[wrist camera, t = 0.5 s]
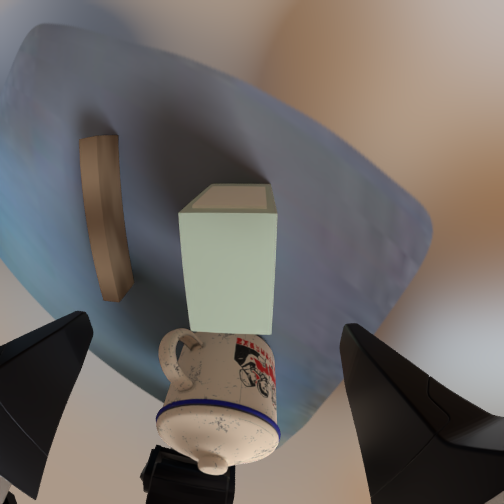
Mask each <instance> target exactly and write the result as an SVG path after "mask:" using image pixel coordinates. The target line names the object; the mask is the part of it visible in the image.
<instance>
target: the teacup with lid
mask: <svg viewBox="0 0 504 504" xmlns="http://www.w3.org/2000/svg"><path fill="white" fill-rule="evenodd" d="M179 340H180V341H181V342H183V343H184V346H183V349H182V351H181V354H180V357H179V360H178V361H177V358H176V345H177V342H178V341H179ZM159 361H160V364H161V367H162V370H163V372H164V374H165V375H166V377H167V378H168V380H169V381H170V382H171V384H170V387H169V390H168V393H167V396H166V399H165V402H164V405H163V408H161V409H160V410H159V412H158V414H157V416H156V427H157V430H158V433H159V435H160V437H161V438H162V439H163V441H164V442H165V443H166V444H168V445H169V446H170V447H171V448H173V449H174V450H176V451H178V452H180V453H181V454H184V455H186V456H188V457H190V458H192V459H193V460H195V461H197V462H198V468H199V469H200V470H201V471H202V472H204V473H206V474H211V475H222V474H224V473H225V472H226V471H227V469H228V466H233V465H236V464H244V463H250V462H254V461H257V460H260V459H263V458H265V457H266V456H268V455H270V454H271V453H272V452H273V451H274V450H275V448H276V447H277V445H278V442H279V440H280V435H281V434H280V429H279V427H278V425H277V414H276V384H275V361H274V356H273V353H272V351H271V349H270V347H269V346H268V345H267V343H266V342H265V341H264V340H262V339H261V338H260V337H259V336H257V335H255V334H232V333H212V332H196V333H193V332H192V331H190V330H188V329H185V328H179V329H175V330H173V331H170V332H169V333H167V334H166V335H165V336H164V337H163V339H162V340H161V343H160V346H159Z"/></svg>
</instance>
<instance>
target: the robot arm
mask: <svg viewBox="0 0 504 504" xmlns="http://www.w3.org/2000/svg"><path fill="white" fill-rule="evenodd" d="M92 337H93V328H92V326H91V323H90V320H89V317H88V314H87V313H86V312H83V311H75V312H73V313H71V314H68V315H66V316H64V317H62V318H60V319H57V320H55V321H53V322H51V323H49V324H47V325H44V326H42V327H40V328H38V329H36V330H34V331H31V332H29V333H27V334H25V335H23V336H21V337H19V338H16V339H14V340H12V341H10V342H8V343H6V344H4V345H2V346H0V504H17V502H16V499H15V496H14V495H13V494H12V493H11V492H10V491H9V489H10V487H11V485H14V486H15V487H17V488H18V489H19V490H21V491H22V492H24V493H25V494H27V495H28V496H30V497H31V498H33V499H34V500H36V498H37V495H38V491H39V487H40V483H41V479H42V475H43V472H44V468H45V465H46V461H47V458H48V454H49V451H50V448H51V445H52V442H53V439H54V436H55V433H56V430H57V427H58V425H59V422H60V419H61V417H62V414H63V411H64V409H65V406H66V404H67V401H68V399H69V396H70V394H71V392H72V389H73V387H74V384H75V382H76V380H77V378H78V375H79V373H80V371H81V368H82V365H83V363H84V360H85V357H86V354H87V351H88V348H89V345H90V343H91V340H92ZM340 355H341V361H342V368H343V375H344V382H345V387H346V392H347V396H348V400H349V404H350V408H351V412H352V416H353V420H354V424H355V428H356V432H357V436H358V440H359V445H360V449H361V453H362V458H363V463H364V467H365V472H366V477H367V482H368V486H369V492H370V497H371V504H504V417H500V416H495V415H492V414H490V413H488V412H486V411H485V410H483V409H481V408H479V407H478V406H476V405H474V404H472V403H471V402H469V401H467V400H466V399H464V398H462V397H461V396H459V395H457V394H456V393H454V392H452V391H451V390H449V389H448V388H446V387H445V386H444V385H442V384H440V383H439V382H438V381H436V380H435V379H434V378H432V377H431V376H430V377H429V375H428V374H427V373H425V372H424V371H422V370H421V369H420V368H418V367H417V366H416V365H414V364H413V363H411V362H410V361H409V360H407V359H406V358H404V357H403V356H402V355H400V354H399V353H398V352H396V351H395V350H393V349H392V348H391V347H389V346H388V345H387V344H385V343H384V342H382V341H381V340H379V339H378V338H377V337H375V336H374V335H373V334H371V333H370V332H369V331H367V330H366V329H364V328H363V327H362V326H360V325H359V324H357V323H350V324H345V326H344V328H343V332H342V337H341V341H340ZM140 478H141V480H142V481H143V486H144V492H146V493H148V494H147V499H146V504H233V500H234V493H235V465H233V466H228V469H227V471H226V472H225V473H224V474H222V475H211V474H206V473H204V472H202V471H201V470H200V469H199V468H198V462H197V461H195V460H193V459H192V458H190V457H188V456H186V455H184V454H181V453H180V452H178V451H176V450H174V449H173V448H171V449H169V448H165V447H161V446H160V445H156V447H155V449H152V450H151V453H150V457H149V460H148V462H147V464H146V466H145V467H144V469H143V471H142V473H141V475H140Z"/></svg>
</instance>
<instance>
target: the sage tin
mask: <svg viewBox="0 0 504 504" xmlns="http://www.w3.org/2000/svg"><path fill="white" fill-rule="evenodd" d="M178 215H179V229H180V242H181V253H182V263H183V273H184V282H185V291H186V299H187V307H188V314H189V322H190V329H191V331H197V332H212V333H232V334H265V335H271V330H272V314H273V297H274V278H275V258H276V236H277V210H276V205H275V201H274V196H273V192H272V187H271V184H211V185H210V186H208V187H207V188H206V189H205V190H204V191H203V192H201V193H200V194H199V195H198V196H197V197H196V198H194V199H193V200H192V201H191V202H190V203H189V204H188V205H187V206H185V207H184V208H183V209H182V210H181V211H180V212H179V213H178Z"/></svg>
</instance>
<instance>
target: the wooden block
mask: <svg viewBox="0 0 504 504" xmlns="http://www.w3.org/2000/svg"><path fill="white" fill-rule="evenodd" d="M79 149H80V167H81V179H82V190H83V199H84V207H85V214H86V221H87V227H88V233H89V239H90V244H91V249H92V254H93V259H94V264H95V268H96V273H97V277H98V281H99V285H100V289H101V293H102V297H103V300H104V301H112V302H120V301H121V300H122V298H123V297H124V296H125V295H126V293H127V292H128V291H129V289H130V288H131V287H132V286H133V284H134V279H133V274H132V268H131V263H130V257H129V251H128V244H127V237H126V230H125V222H124V214H123V205H122V195H121V183H120V169H119V148H118V135H103V136H93V137H88V138H83V139H79Z"/></svg>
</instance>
